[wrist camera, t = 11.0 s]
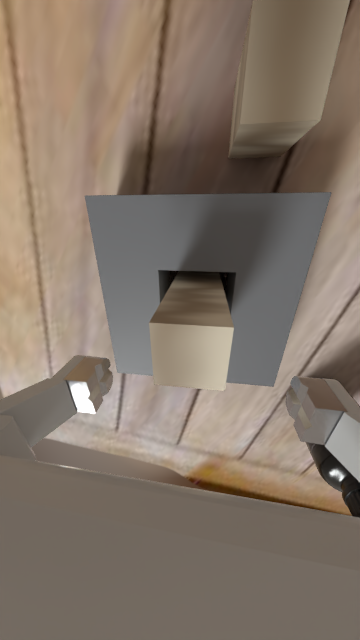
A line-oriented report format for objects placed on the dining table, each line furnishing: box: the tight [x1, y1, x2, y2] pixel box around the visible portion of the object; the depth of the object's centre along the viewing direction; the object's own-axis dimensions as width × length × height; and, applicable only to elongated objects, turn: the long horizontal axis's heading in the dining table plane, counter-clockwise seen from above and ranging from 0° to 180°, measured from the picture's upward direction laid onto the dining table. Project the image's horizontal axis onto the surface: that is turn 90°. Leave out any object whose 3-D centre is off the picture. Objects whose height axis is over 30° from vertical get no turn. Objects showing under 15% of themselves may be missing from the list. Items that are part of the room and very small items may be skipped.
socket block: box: [85, 192, 331, 387], centre depth 18 cm, size 16×16×5 cm
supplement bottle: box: [306, 388, 360, 518], centre depth 20 cm, size 7×7×12 cm
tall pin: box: [149, 271, 234, 391], centre depth 15 cm, size 4×4×12 cm
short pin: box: [228, 0, 350, 158], centre depth 12 cm, size 4×4×6 cm
